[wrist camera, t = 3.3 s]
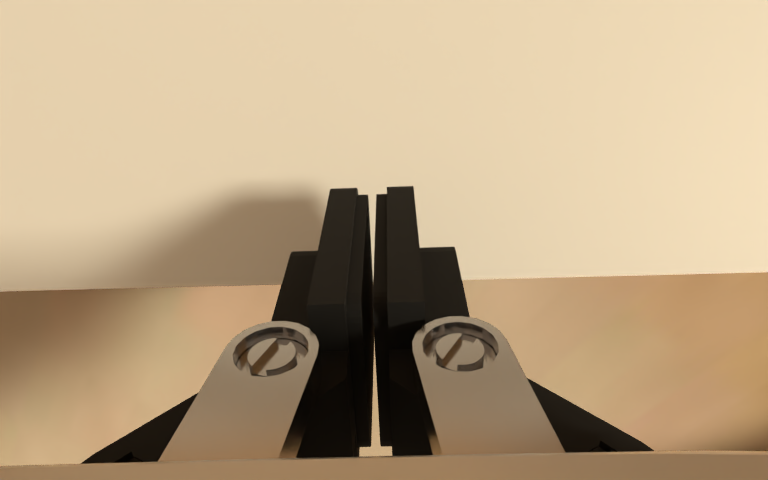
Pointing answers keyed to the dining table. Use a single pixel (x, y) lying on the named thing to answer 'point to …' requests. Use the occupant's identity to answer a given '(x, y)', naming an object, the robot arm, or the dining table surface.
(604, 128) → the pale plank
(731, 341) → the dining table surface
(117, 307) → the dining table surface
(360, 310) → the robot arm
